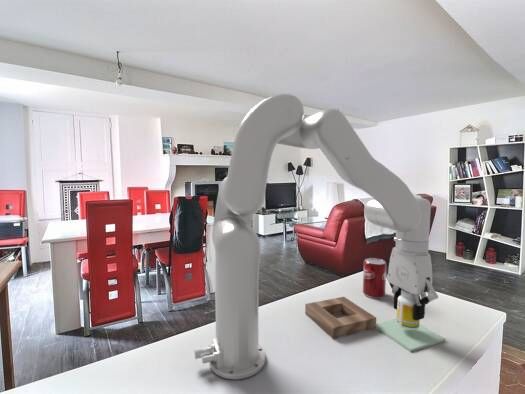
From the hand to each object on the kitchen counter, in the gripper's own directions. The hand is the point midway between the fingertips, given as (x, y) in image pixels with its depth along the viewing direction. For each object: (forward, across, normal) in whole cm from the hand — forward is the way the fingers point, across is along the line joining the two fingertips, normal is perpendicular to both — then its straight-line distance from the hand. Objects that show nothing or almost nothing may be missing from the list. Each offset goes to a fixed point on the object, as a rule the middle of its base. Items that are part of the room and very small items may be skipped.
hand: (408, 312), depth 74 cm
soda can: (+6, -22, +9) cm, 25 cm away
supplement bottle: (+4, 0, 0) cm, 4 cm away
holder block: (+6, -12, -13) cm, 18 cm away
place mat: (+6, 0, 0) cm, 6 cm away
